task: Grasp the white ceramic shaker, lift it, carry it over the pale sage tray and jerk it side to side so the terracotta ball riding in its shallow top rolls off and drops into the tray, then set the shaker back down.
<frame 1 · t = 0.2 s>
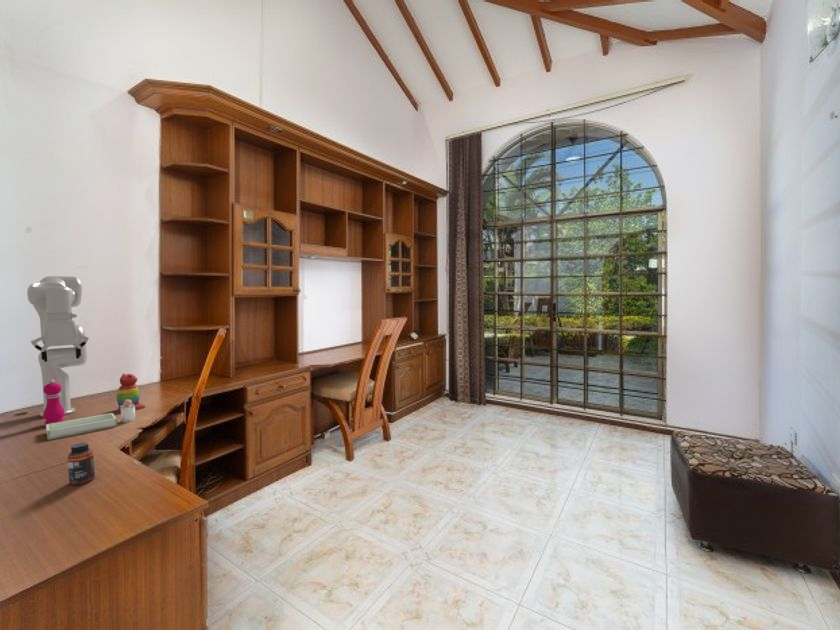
hand: (62, 359, 160), 31 cm above the table, fingers open, 9 cm apart
supplement bottle: (82, 481, 120), on the table
shaker: (128, 420, 180), on the table, touching ball
pepper mill: (54, 424, 176), on the table
tray: (82, 429, 168), on the table
ball: (127, 403, 180), point 8 cm above the table, touching shaker
stacking bear: (129, 409, 200), on the table
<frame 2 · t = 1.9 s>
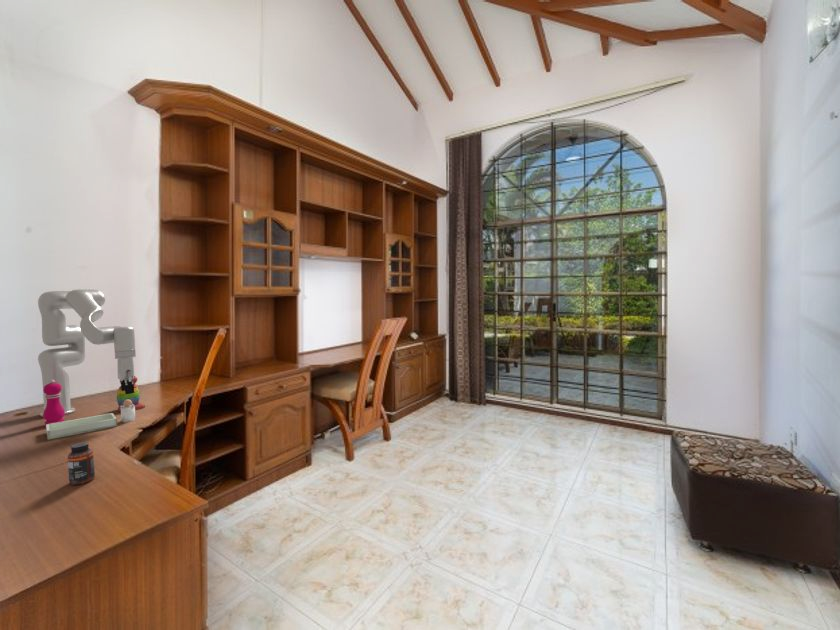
hand: (127, 391, 180), 13 cm above the table, fingers open, 9 cm apart
nothing on the table moved.
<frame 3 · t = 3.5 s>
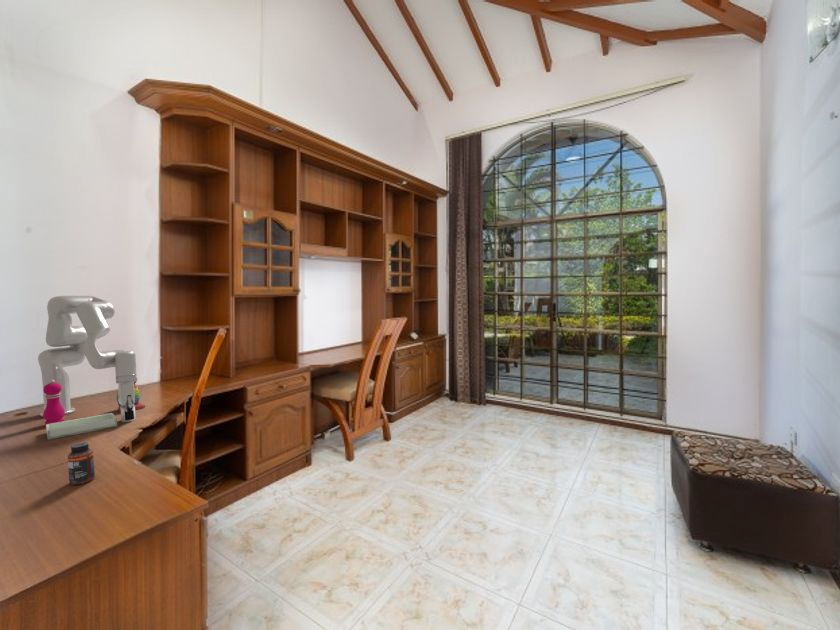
hand: (128, 417, 180), 1 cm above the table, fingers closed on shaker, 5 cm apart
shaker: (128, 420, 180), on the table, touching ball, gripper
everything else where it was.
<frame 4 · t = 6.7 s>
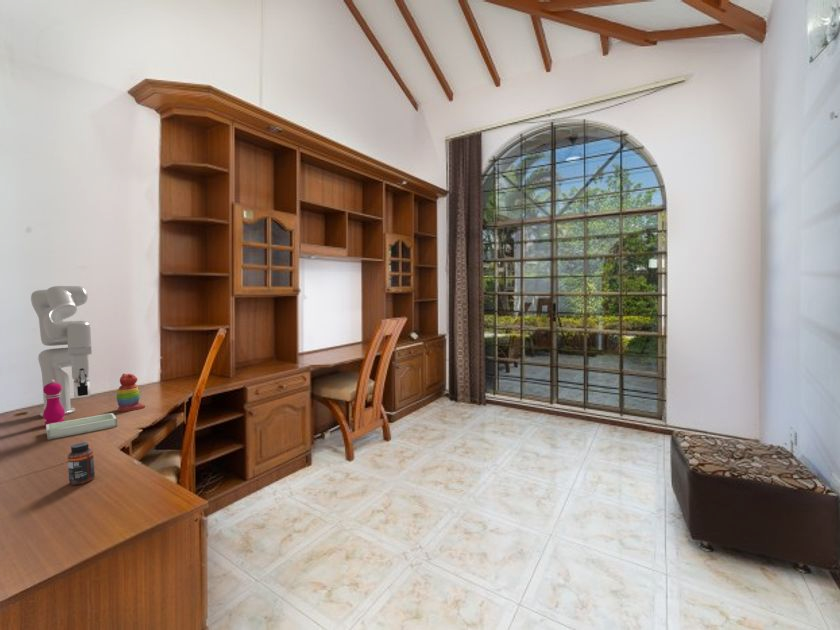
hand: (82, 393, 168), 15 cm above the table, fingers closed on shaker, 5 cm apart
shaker: (82, 396, 168), point 14 cm above the table, touching ball, gripper
ball: (79, 378, 167), point 22 cm above the table, tilted 35°, touching shaker
everything else where it was.
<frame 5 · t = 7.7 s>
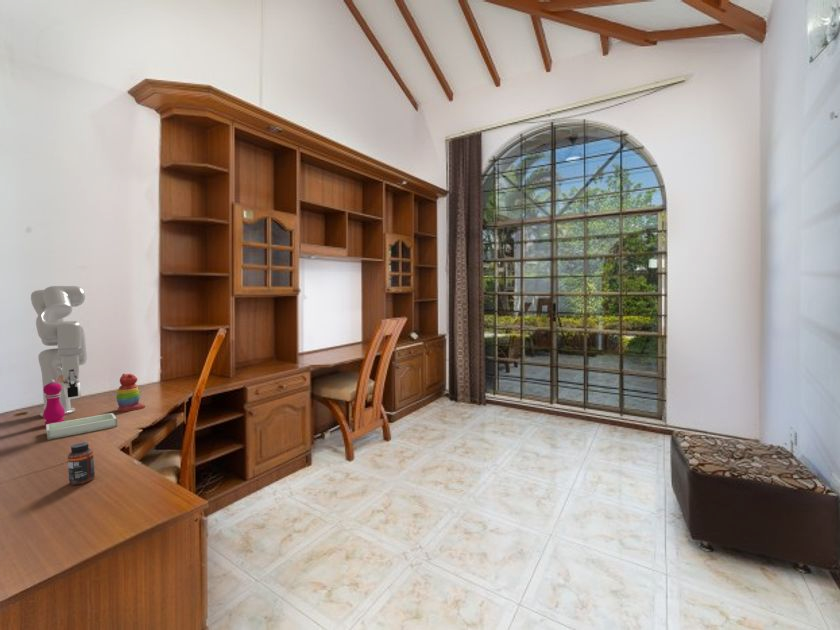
hand: (72, 394, 166), 15 cm above the table, fingers closed on shaker, 5 cm apart
shaker: (72, 397, 166), point 14 cm above the table, touching gripper
ball: (62, 378, 164), point 22 cm above the table, tilted 90°
everything else where it was.
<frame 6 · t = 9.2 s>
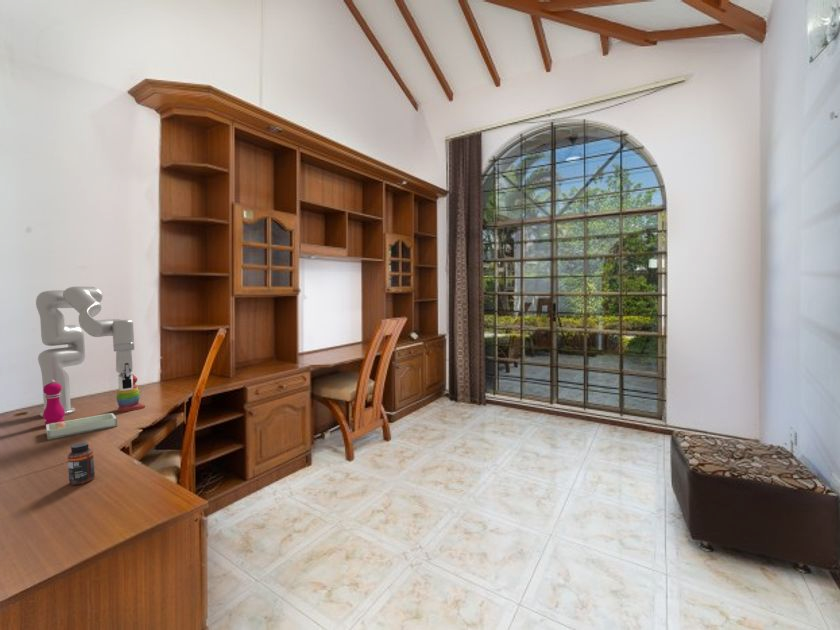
hand: (126, 386, 180), 15 cm above the table, fingers closed on shaker, 5 cm apart
shaker: (126, 389, 180), point 14 cm above the table, touching gripper
ball: (60, 425, 166), point 2 cm above the table, tilted 77°, touching tray
everything else where it was.
when the fingers open (2 cm above the table, at t = 12.1 s): shaker stays where it is, on the table.
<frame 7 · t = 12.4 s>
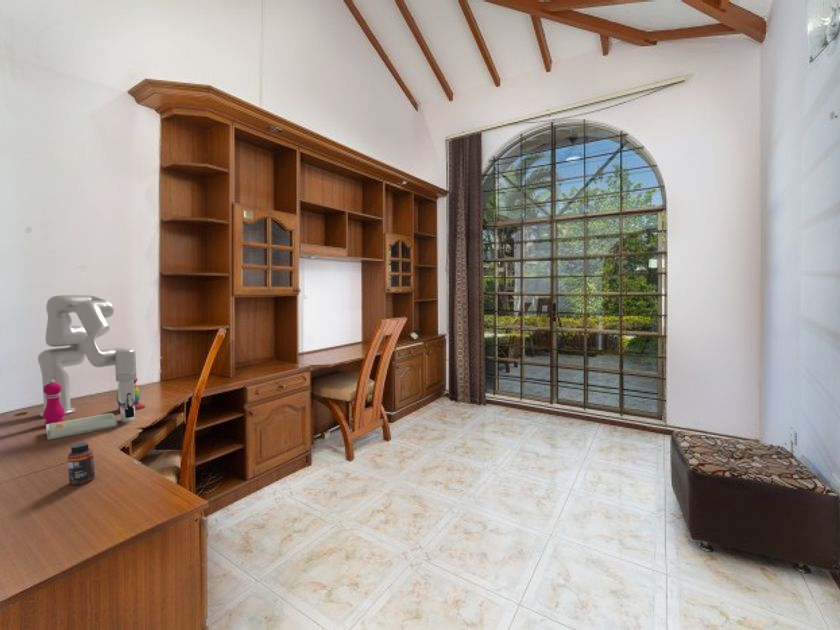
hand: (128, 415, 180), 2 cm above the table, fingers open, 7 cm apart
shaker: (128, 420, 180), on the table
ball: (60, 426, 165), point 2 cm above the table, tilted 21°, touching tray
everything else where it was.
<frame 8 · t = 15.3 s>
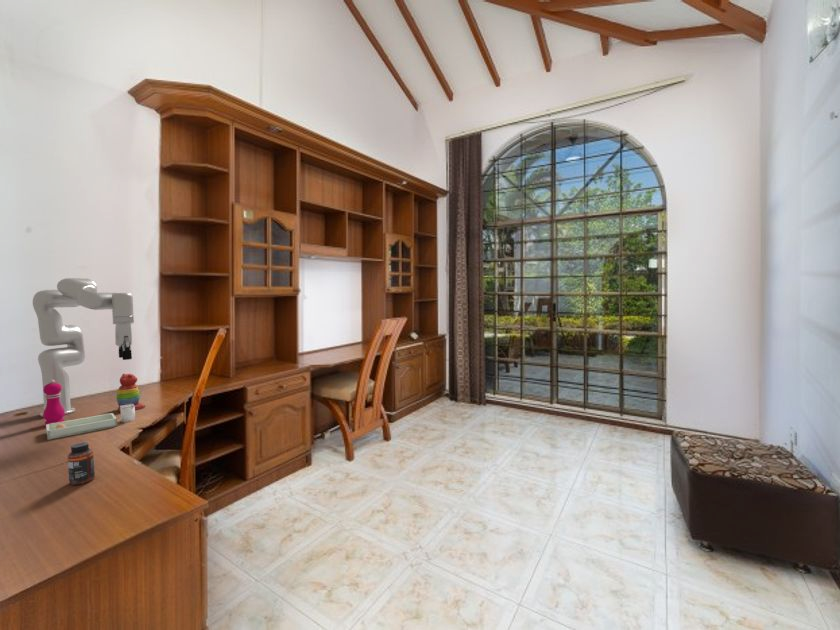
hand: (125, 358, 179), 28 cm above the table, fingers open, 9 cm apart
ball: (60, 427, 164), point 2 cm above the table, tilted 46°, touching tray
everything else where it was.
at the end: ball inside the target area on the tray (6.7 cm from its centre), point 2.4 cm above the tray's base; ball touching tray; shaker tilted 0° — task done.
